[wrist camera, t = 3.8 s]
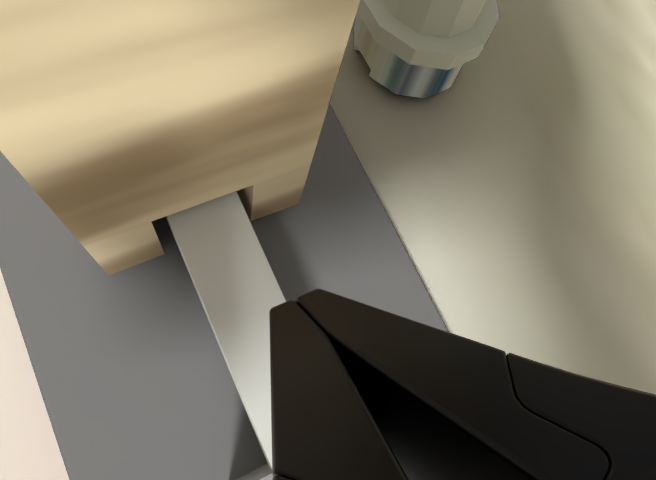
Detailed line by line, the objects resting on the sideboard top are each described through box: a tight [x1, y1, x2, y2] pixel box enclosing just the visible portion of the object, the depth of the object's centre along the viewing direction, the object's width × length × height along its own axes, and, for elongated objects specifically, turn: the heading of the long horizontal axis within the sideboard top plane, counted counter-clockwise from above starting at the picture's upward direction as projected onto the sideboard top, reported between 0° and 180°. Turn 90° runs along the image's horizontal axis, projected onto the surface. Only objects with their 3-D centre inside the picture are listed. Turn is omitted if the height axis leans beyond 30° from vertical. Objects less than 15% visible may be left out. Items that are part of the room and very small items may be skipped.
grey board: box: [0, 104, 448, 480], centre depth 17 cm, size 30×12×4 cm, turn 25°
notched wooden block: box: [0, 0, 360, 275], centre depth 12 cm, size 5×6×12 cm
